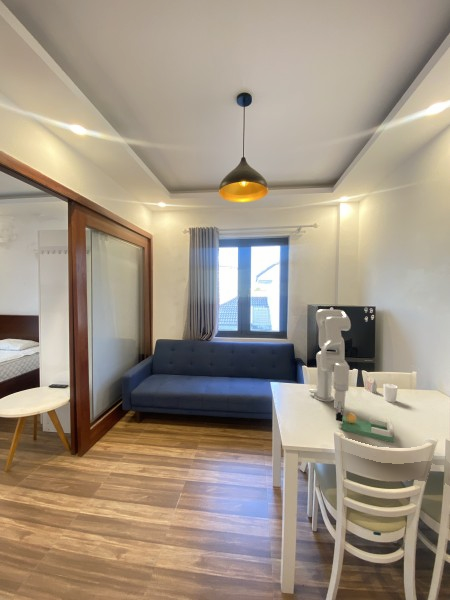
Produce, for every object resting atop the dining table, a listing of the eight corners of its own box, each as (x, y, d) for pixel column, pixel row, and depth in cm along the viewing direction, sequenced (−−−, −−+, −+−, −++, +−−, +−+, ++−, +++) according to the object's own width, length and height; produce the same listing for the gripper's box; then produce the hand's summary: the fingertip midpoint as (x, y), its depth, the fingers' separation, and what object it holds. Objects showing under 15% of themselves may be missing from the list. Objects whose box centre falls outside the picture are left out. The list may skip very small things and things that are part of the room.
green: (342, 430, 128) (343, 418, 128) (342, 419, 139) (343, 408, 138) (393, 442, 118) (393, 430, 118) (389, 429, 129) (389, 418, 129)
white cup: (379, 397, 168) (380, 383, 168) (390, 397, 169) (391, 383, 169) (388, 403, 161) (389, 388, 160) (399, 402, 161) (400, 387, 161)
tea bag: (369, 389, 184) (370, 375, 183) (376, 392, 177) (377, 379, 176) (365, 389, 183) (365, 375, 183) (371, 392, 176) (372, 379, 176)
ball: (345, 423, 130) (346, 414, 130) (345, 419, 135) (346, 410, 134) (356, 426, 128) (357, 416, 128) (356, 421, 132) (356, 412, 132)
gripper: (333, 379, 142) (332, 411, 143) (332, 389, 127) (330, 424, 128) (348, 382, 139) (346, 414, 139) (348, 392, 124) (346, 428, 125)
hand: (339, 418), depth 134 cm, fingers open, 3 cm apart
